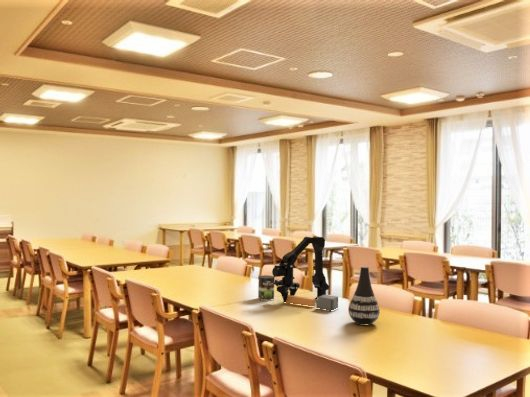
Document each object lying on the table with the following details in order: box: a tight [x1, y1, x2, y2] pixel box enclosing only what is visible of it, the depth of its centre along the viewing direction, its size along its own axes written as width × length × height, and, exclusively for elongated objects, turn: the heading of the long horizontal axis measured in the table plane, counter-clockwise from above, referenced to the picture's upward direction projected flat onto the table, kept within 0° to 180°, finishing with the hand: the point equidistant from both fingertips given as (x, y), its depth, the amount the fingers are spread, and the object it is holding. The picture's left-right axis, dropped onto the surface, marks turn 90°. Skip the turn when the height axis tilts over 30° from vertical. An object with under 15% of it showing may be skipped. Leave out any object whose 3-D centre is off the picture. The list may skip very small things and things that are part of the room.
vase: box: [348, 266, 381, 325], centre depth 251 cm, size 16×16×30 cm
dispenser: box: [315, 294, 339, 310], centre depth 281 cm, size 10×8×7 cm
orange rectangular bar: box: [282, 294, 316, 307], centre depth 291 cm, size 20×3×5 cm, turn 59°
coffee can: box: [257, 275, 276, 301], centre depth 306 cm, size 10×10×14 cm
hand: (288, 301), depth 295 cm, fingers open, 8 cm apart
